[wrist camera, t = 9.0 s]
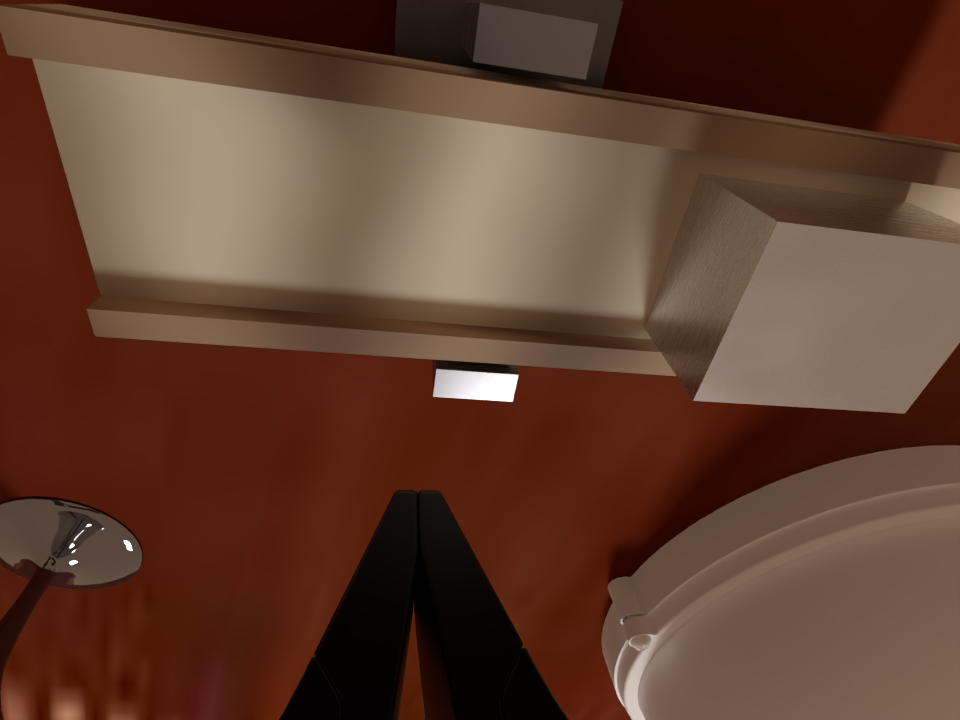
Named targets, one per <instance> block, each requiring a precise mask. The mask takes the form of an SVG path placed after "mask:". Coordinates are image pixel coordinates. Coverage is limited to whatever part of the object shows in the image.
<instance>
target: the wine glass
mask: <svg viewBox="0 0 960 720" xmlns="http://www.w3.org/2000/svg"><path fill="white" fill-rule="evenodd" d="M142 561H143V551H142V548H141V545H140V543H139V541H138V540H137V538H136V537H135V536H134V534H133V533H132V532H131V531H130V530H129V529H127V528H126V527H125V526H124V525H123V524H121V523H120V522H118V521H117V520H116V519H114V518H112V517H110V516H108V515H106V514H105V513H103V512H100V511H98V510H95V509H93V508H91V507H88V506H84V505H81V504H78V503H74V502H69V501H64V500H59V499H50V498H24V499H15V500H12V501H8V502H4V503H1V504H0V565H2V566H3V567H4V568H6V569H8V570H10V571H11V572H13V573H15V574H17V575H20V576H22V577H24V578H26V579H29V580H30V581H29V583H28V584H27V586H26V587H25V589H24V590H23V592H22V593H21V594H20V596H19V597H18V599H17V600H16V601H15V603H14V604H13V605H12V607H11V608H10V609H9V611H8V612H7V613H6V614H5V616H4V617H3V618H2V619H1V621H0V692H1V683H2V677H3V672H4V668H5V666H6V663H7V660H8V658H9V656H10V654H11V652H12V649H13V647H14V645H15V643H16V641H17V639H18V637H19V635H20V633H21V631H22V629H23V627H24V625H25V623H26V622H27V620H28V618H29V616H30V614H31V613H32V611H33V609H34V607H35V606H36V604H37V603H38V601H39V599H40V598H41V596H42V595H43V593H44V592H45V590H46V589H47V587H48V586H49V585H50V586H54V587H60V588H67V589H98V588H105V587H109V586H114V585H117V584H119V583H122V582H124V581H126V580H127V579H129V578H131V577H132V576H133V575H134V574H135V573H136V572H137V571H138V570H139V568H140V566H141V565H142ZM0 720H4V719H3V715H2V711H1V695H0Z"/></svg>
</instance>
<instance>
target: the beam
mask: <svg viewBox="0 0 960 720" xmlns="http://www.w3.org/2000/svg"><path fill="white" fill-rule="evenodd" d="M0 32H1V35H2V38H3V41H4V44H5V48H6V51H7V54H8V55H12V56H19V57H26V58H32V59H33V62H34V66H35V69H36V73H37V76H38V80H39V83H40V86H41V90H42V93H43V97H44V100H45V104H46V107H47V111H48V114H49V118H50V121H51V125H52V128H53V132H54V135H55V138H56V142H57V145H58V149H59V152H60V156H61V159H62V163H63V166H64V170H65V173H66V177H67V180H68V184H69V187H70V190H71V194H72V197H73V201H74V204H75V208H76V211H77V215H78V218H79V222H80V225H81V229H82V232H83V236H84V239H85V242H86V246H87V249H88V253H89V256H90V260H91V263H92V267H93V270H94V274H95V277H96V281H97V284H98V288H99V291H100V294H101V296H100V297H99V298H98V299H97V300H96V301H95V302H94V303H92V304H91V305H90V306H89V307H88V308H87V312H88V315H89V318H90V322H91V325H92V328H93V331H94V335H95V336H98V337H113V338H128V339H142V340H157V341H171V342H186V343H201V344H215V345H230V346H245V347H259V348H274V349H288V350H303V351H318V352H332V353H347V354H362V355H376V356H391V357H406V358H420V359H435V360H449V361H464V362H479V363H493V364H508V365H523V366H537V367H552V368H566V369H581V370H596V371H610V372H625V373H640V374H654V375H669V376H676V374H675V373H674V371H673V370H672V368H671V367H670V366H669V364H668V363H667V361H666V360H665V358H664V357H663V355H662V354H661V352H660V351H659V349H658V348H657V346H656V345H655V343H654V342H653V340H652V339H651V337H650V336H649V335H648V333H647V332H646V330H645V329H644V324H645V321H646V319H647V316H648V313H649V310H650V308H651V305H652V302H653V300H654V297H655V294H656V291H657V289H658V286H659V283H660V281H661V278H662V275H663V272H664V270H665V267H666V264H667V262H668V259H669V256H670V253H671V251H672V248H673V245H674V243H675V240H676V237H677V234H678V232H679V229H680V226H681V224H682V221H683V218H684V215H685V213H686V210H687V207H688V205H689V202H690V199H691V196H692V194H693V191H694V188H695V186H696V183H697V180H698V177H699V175H700V173H701V174H708V175H716V176H723V177H731V178H738V179H745V180H753V181H760V182H768V183H775V184H782V185H790V186H797V187H805V188H812V189H820V190H827V191H834V192H842V193H849V194H857V195H864V196H871V197H879V198H886V199H894V200H901V201H906V202H909V203H911V204H914V205H916V206H918V207H921V208H923V209H926V210H928V211H931V212H933V213H935V214H938V215H940V216H943V217H945V218H947V219H950V220H952V221H955V222H957V223H960V145H958V144H952V143H945V142H939V141H933V140H926V139H920V138H913V137H907V136H901V135H894V134H888V133H882V132H875V131H869V130H862V129H856V128H850V127H843V126H837V125H830V124H824V123H818V122H811V121H805V120H799V119H792V118H786V117H779V116H773V115H767V114H760V113H754V112H747V111H741V110H735V109H728V108H722V107H716V106H709V105H703V104H696V103H690V102H684V101H677V100H671V99H665V98H658V97H652V96H645V95H639V94H633V93H626V92H620V91H613V90H607V89H601V88H594V87H588V86H582V85H575V84H569V83H562V82H556V81H550V80H543V79H537V78H530V77H524V76H520V75H516V74H510V73H503V72H492V71H486V70H479V69H473V68H467V67H460V66H454V65H447V64H441V63H435V62H428V61H422V60H416V59H409V58H403V57H396V56H390V55H384V54H377V53H371V52H364V51H358V50H352V49H345V48H339V47H333V46H326V45H320V44H313V43H307V42H301V41H294V40H288V39H281V38H275V37H269V36H262V35H256V34H250V33H243V32H237V31H230V30H224V29H218V28H211V27H205V26H198V25H192V24H186V23H179V22H173V21H167V20H160V19H154V18H147V17H141V16H135V15H128V14H122V13H115V12H109V11H103V10H96V9H90V8H84V7H77V6H71V5H64V4H0Z"/></svg>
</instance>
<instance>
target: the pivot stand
mask: <svg viewBox="0 0 960 720" xmlns="http://www.w3.org/2000/svg"><path fill="white" fill-rule="evenodd" d="M622 5H623V1H621V0H397V5H396V27H395V49H394V56H396V57H403V58H409V59H416V60H422V61H428V62H435V63H441V64H447V65H454V66H460V67H467V68H473V69H479V70H486V71H492V72H503V73H510V74H516V75H520V76H524V77H530V78H537V79H543V80H550V81H556V82H562V83H569V84H575V85H582V86H588V87H594V88H601V89H602V87H603V83H604V79H605V75H606V71H607V67H608V62H609V58H610V54H611V50H612V46H613V42H614V38H615V34H616V30H617V26H618V22H619V18H620V14H621V9H622ZM517 379H518V371H517V367H516V365H508V364H493V363H479V362H464V361H449V360H435V359H433V397H446V398H463V399H479V400H495V401H511V402H512V401H513V397H514V392H515V388H516V384H517Z"/></svg>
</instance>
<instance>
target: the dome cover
mask: <svg viewBox="0 0 960 720" xmlns="http://www.w3.org/2000/svg"><path fill="white" fill-rule="evenodd" d="M608 590H609V593H610V595H611V598H612V601H613V603H612V605H611V607H610V609H609V611H608V614H607V616H606V618H605V622H604V626H603V630H602V640H601V641H602V651H603V654H604V658H605V661H606V664H607V667H608V670H609V673H610V676H611V678H612V681H613V684H614V687H615V690H616V693H617V696H618V698H619V700H620V701H621V703H622V705H623V706H624V707H625V708H626V710H627V712H628V714H629V715H630V717H631V719H632V720H960V446H957V445H944V446H921V447H909V448H900V449H894V450H887V451H880V452H875V453H870V454H865V455H861V456H856V457H851V458H847V459H844V460H840V461H836V462H832V463H829V464H825V465H822V466H819V467H815V468H812V469H809V470H806V471H803V472H800V473H797V474H794V475H792V476H789V477H787V478H784V479H782V480H779V481H776V482H774V483H771V484H769V485H766V486H764V487H762V488H760V489H758V490H755V491H753V492H751V493H749V494H747V495H744V496H742V497H740V498H738V499H736V500H735V501H733V502H731V503H729V504H727V505H725V506H723V507H721V508H719V509H717V510H716V511H714V512H712V513H711V514H709V515H707V516H706V517H704V518H702V519H701V520H699V521H697V522H696V523H694V524H693V525H691V526H690V527H688V528H687V529H685V530H684V531H682V532H681V533H680V534H678V535H677V536H675V537H674V538H673V539H671V540H670V541H669V542H668V543H666V544H665V545H664V546H663V547H661V548H660V549H659V550H658V551H656V552H655V553H654V554H653V555H652V556H651V557H650V558H649V559H648V560H647V561H645V562H644V563H643V564H642V565H641V566H640V568H639V569H638V570H637V571H636V572H635V573H634V574H633V575H632V576H631V577H619V578H616V579H614V580H612V581H611V582H610V583H609V584H608Z"/></svg>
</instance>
